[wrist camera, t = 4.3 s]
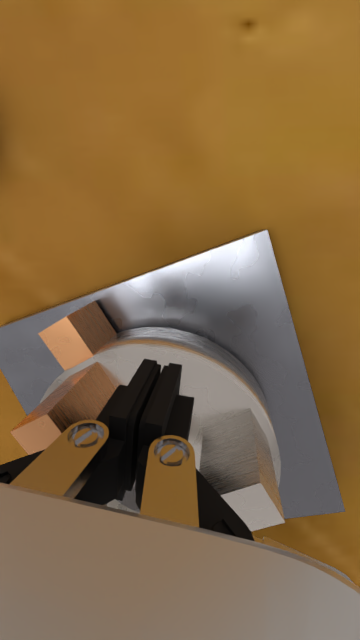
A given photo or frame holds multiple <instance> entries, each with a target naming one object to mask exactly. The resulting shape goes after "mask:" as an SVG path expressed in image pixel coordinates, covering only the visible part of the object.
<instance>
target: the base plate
mask: <svg viewBox="0 0 360 640" xmlns="http://www.w3.org/2000/svg"><path fill="white" fill-rule="evenodd" d="M93 301H96V303H97V304H98V306H99V307H100V309H101V310H102V312H103V314H104V315H105V317H106V318H107V320H108V321H109V323H110V324H111V326H112V327H113V329H114V330H115V332H116V333H119V332H122V331H126V330H129V329H135V328H142V327H165V328H174V329H178V330H183V331H187V332H191V333H193V334H196V335H199V336H202V337H204V338H206V339H208V340H210V341H212V342H214V343H216V344H218V345H219V346H221V347H222V348H224V349H225V350H227V351H228V352H230V353H231V354H232V355H233V356H234V357H236V358H237V359H238V360H239V361H240V362H241V363H242V364H243V365H244V366H245V367H246V368H247V369H248V370H249V372H250V373H251V374H252V375H253V377H254V378H255V380H256V381H257V383H258V384H259V386H260V388H261V390H262V392H263V394H264V396H265V399H266V402H267V405H268V408H269V412H270V416H271V420H272V424H273V428H274V432H275V436H276V440H277V444H278V449H279V455H280V462H281V473H280V482H279V487H278V490H279V495H280V500H281V505H282V510H283V514H284V519H287V518H295V517H304V516H312V515H320V514H329V513H337V512H345V509H344V505H343V502H342V498H341V494H340V491H339V487H338V484H337V480H336V476H335V473H334V469H333V466H332V462H331V458H330V455H329V451H328V447H327V444H326V440H325V437H324V433H323V429H322V426H321V422H320V418H319V415H318V411H317V408H316V404H315V400H314V397H313V393H312V390H311V386H310V382H309V379H308V375H307V371H306V368H305V364H304V361H303V357H302V353H301V350H300V346H299V343H298V339H297V335H296V332H295V328H294V324H293V321H292V317H291V314H290V310H289V306H288V303H287V299H286V296H285V292H284V288H283V285H282V281H281V277H280V274H279V270H278V267H277V263H276V259H275V256H274V252H273V249H272V245H271V241H270V238H269V234H268V230H260V231H257V232H254V233H251V234H249V235H246V236H243V237H240V238H238V239H235V240H232V241H230V242H227V243H224V244H221V245H219V246H216V247H213V248H211V249H208V250H205V251H202V252H200V253H197V254H194V255H192V256H189V257H186V258H183V259H181V260H178V261H175V262H173V263H170V264H167V265H164V266H162V267H159V268H156V269H154V270H151V271H148V272H145V273H143V274H140V275H137V276H134V277H132V278H129V279H126V280H124V281H121V282H118V283H115V284H113V285H110V286H107V287H105V288H102V289H99V290H96V291H94V292H91V293H88V294H86V295H83V296H80V297H77V298H75V299H72V300H69V301H67V302H64V303H61V304H58V305H56V306H53V307H50V308H47V309H45V310H42V311H39V312H37V313H34V314H31V315H28V316H26V317H23V318H20V319H18V320H15V321H12V322H9V323H7V324H4V325H2V326H0V369H1V370H2V372H3V374H4V376H5V377H6V379H7V381H8V383H9V384H10V386H11V388H12V390H13V391H14V393H15V395H16V397H17V398H18V400H19V402H20V404H21V405H22V407H23V409H24V411H25V412H26V414H27V416H28V415H29V414H30V413H31V412H32V411H33V410H34V409H35V408H36V407H37V406H38V405H39V404H40V401H41V399H42V398H43V396H44V394H45V392H46V390H47V389H48V388H49V387H50V385H51V384H52V383H53V382H54V380H55V379H56V378H58V377H59V376H60V375H61V374H62V373H63V372H64V371H65V370H64V369H63V368H62V366H61V365H60V363H59V362H58V361H57V359H56V358H55V357H54V355H53V354H52V352H51V351H50V350H49V348H48V347H47V345H46V344H45V343H44V341H43V340H42V339H41V337H40V336H39V334H38V333H40V332H41V331H43V330H45V329H46V328H48V327H50V326H51V325H53V324H55V323H56V322H58V321H60V320H61V319H63V318H64V317H66V316H68V315H70V314H71V313H73V312H75V311H77V310H79V309H81V308H82V307H84V306H86V305H88V304H90V303H91V302H93Z"/></svg>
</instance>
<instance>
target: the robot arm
mask: <svg viewBox="0 0 360 640" xmlns="http://www.w3.org/2000/svg"><path fill="white" fill-rule="evenodd" d="M181 373H182V365H181V364H175V363H169V365H168V366H166V365H164V367H163V369H162V371H161V365H160V364H157V361H156V360H150V359H144V360H143V361H142V363H141V364H140V366H139V368H138V369H137V371H136V373H135V374H134V376H133V377H132V379H131V381H130V382H129V384H128V386H126V385H119V386H118V387H117V388H116V390H115V391H114V393H113V394H112V396H111V397H110V399H109V400H108V402H107V403H106V405H105V406H104V408H103V409H102V411H101V412H100V414H99V415H98V417H97V418H96V420H83V421H79V422H77V423H74V424H72V425H71V426H70V427H68V428H67V429H66V430H65V431H64V432H63V433H62V434H61V435H60V436H59V437H58V438H57V439H56V440H55V441H54V442H53V443H51V444H50V445H49V446H48V447H47V448H46V449H44V450H42V451H39V452H36V453H33V454H30V455H28V456H25V457H22V458H19V459H16V460H14V461H11V462H8V463H5V464H2V465H0V640H360V587H359V586H357V585H355V584H354V583H353V582H352V581H351V580H350V579H349V578H348V577H347V576H346V575H345V574H343V573H342V572H340V571H339V570H337V569H335V568H333V567H331V566H329V565H327V564H325V563H322V562H320V561H318V560H316V559H314V558H312V557H309V556H307V555H305V554H303V553H301V552H299V551H296V550H294V549H292V548H290V547H288V546H285V545H283V544H281V543H279V542H277V541H275V540H272V539H270V538H268V537H266V536H264V537H263V540H262V539H260V538H258V537H256V536H253V535H252V533H251V531H250V530H249V528H248V527H247V525H246V524H245V523H244V521H243V520H242V519H241V518H240V517H239V516H238V515H237V514H236V512H235V511H234V510H233V509H232V508H231V507H230V506H229V505H228V503H227V502H226V501H225V500H224V499H223V498H222V497H221V496H220V494H219V493H218V492H217V491H216V490H215V489H214V488H213V487H212V485H211V484H210V483H209V482H208V481H207V480H206V479H205V478H204V476H203V475H202V474H201V473H200V472H199V471H198V470H197V469H196V466H195V452H194V449H193V447H192V445H191V444H190V443H189V442H188V438H189V432H190V426H191V420H192V413H193V405H194V397H189V396H183V395H179V390H180V381H181ZM135 480H136V482H135ZM134 483H135V493H136V498H135V503H136V504H137V506H138V508H139V510H140V514H138V513H134V512H130V511H125V510H121V509H116V508H112V507H108V506H107V503H109V502H111V501H112V500H114V499H116V500H120V501H123V498H124V495H125V493H126V491H130V492H131V490H132V488H133V485H134Z"/></svg>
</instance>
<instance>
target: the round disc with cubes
mask: <svg viewBox="0 0 360 640" xmlns="http://www.w3.org/2000/svg"><path fill="white" fill-rule="evenodd" d="M38 334H39V336H40V337H41V339H42V340H43V341H44V343H45V344H46V345H47V347H48V348H49V350H50V351H51V352H52V354H53V355H54V357H55V358H56V359H57V361H58V362H59V363H60V365H61V366H62V368H63V369H64V370H65V371H64V372H63V373H62V374H61V375H60V376H59V377H58V378H56V379H55V380H54V382H53V383H52V384H51V385H50V387H49V388H48V389H47V390H46V392H45V394H44V396H43V398H42V399H41V401H40V404H39V405H38V406H37V407H36V408H35V409H34V410H33V411H32V412H31V413H30V414H29V415H28V416H27V417H26V418H25V419H24V420H22V421H21V422H20V423H19V424H18V425H17V426H16V427H15V428H14V429H13V430H12V431H11V434H12V435H13V436H14V437H15V439H16V440H17V441H18V442H19V444H20V445H21V446H22V447H23V448H24V450H25V451H26V452H27V453H28V455H30V454H33V453H36V452H39V451H42V450H44V449H46V448H47V447H48V446H49V445H50V444H51V443H53V442H54V441H55V440H56V439H57V438H58V437H59V436H60V435H61V434H62V433H63V432H64V431H65V430H66V429H67V428H68V427H70V426H71V425H72V424H74V423H77V422H79V421H83V420H96V418H97V417H98V415H99V414H100V412H101V411H102V409H103V408H104V406H105V405H106V403H107V402H108V400H109V399H110V397H111V396H112V394H113V393H114V391H115V390H116V388H117V387H118V386H119V385H126V386H128V384H129V382H130V381H131V379H132V377H133V376H134V374H135V373H136V371H137V369H138V368H139V366H140V364H141V363H142V361H143V360H144V359H150V360H156V361H157V364H160V365H161V371H162V369H163V367H164V365H166V366H168V365H169V363H175V364H181V365H182V373H181V381H180V390H179V395H183V396H189V397H194V405H193V413H192V420H191V426H190V432H189V438H188V442H189V443H190V444H191V445H192V447H193V449H194V452H195V466H196V469H197V470H198V471H199V472H200V473H201V474H202V475H203V476H204V478H205V479H206V480H207V481H208V482H209V483H210V484H211V485H212V487H213V488H214V489H215V490H216V491H217V492H218V493H219V494H220V496H221V497H222V498H223V499H224V500H225V501H226V502H227V503H228V505H229V506H230V507H231V508H232V509H233V510H234V511H235V512H236V514H237V515H238V516H239V517H240V518H241V519H242V520H243V521H244V523H245V524H246V525H247V527H248V528H249V530H250V531H255V530H258V529H262V528H266V527H270V526H274V525H278V524H282V523H285V519H284V514H283V510H282V505H281V500H280V495H279V490H278V487H279V482H280V473H281V462H280V455H279V449H278V444H277V440H276V436H275V432H274V428H273V424H272V420H271V416H270V412H269V408H268V405H267V402H266V399H265V396H264V394H263V392H262V390H261V388H260V386H259V384H258V383H257V381H256V380H255V378H254V377H253V375H252V374H251V373H250V372H249V370H248V369H247V368H246V367H245V366H244V365H243V364H242V363H241V362H240V361H239V360H238V359H237V358H236V357H234V356H233V355H232V354H231V353H230V352H228V351H227V350H225V349H224V348H222V347H221V346H219V345H218V344H216V343H214V342H212V341H210V340H208V339H206V338H204V337H202V336H199V335H196V334H193V333H191V332H187V331H183V330H178V329H174V328H165V327H142V328H135V329H129V330H126V331H122V332H119V333H116V332H115V330H114V329H113V327H112V326H111V324H110V323H109V321H108V320H107V318H106V317H105V315H104V314H103V312H102V310H101V309H100V307H99V306H98V304H97V303H96V301H93V302H91V303H90V304H88V305H86V306H84V307H82V308H81V309H79V310H77V311H75V312H73V313H71V314H70V315H68V316H66V317H64V318H63V319H61V320H60V321H58V322H56V323H55V324H53V325H51V326H50V327H48V328H46V329H45V330H43V331H41V332H40V333H38ZM135 482H136V480H135ZM135 498H136V493H135V483H134V485H133V488H132V490H131V492H130V491H126V493H125V495H124V498H123V501H120V500H116V499H114V500H112V501H111V502H109V503H107V506H108V507H112V508H116V509H121V510H125V511H130V512H134V513H138V514H140V510H139V508H138V506H137V504H136V503H135Z"/></svg>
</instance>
